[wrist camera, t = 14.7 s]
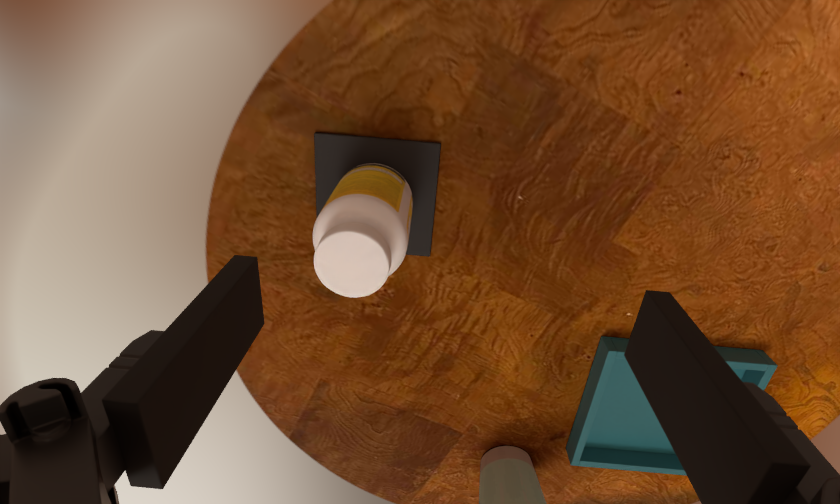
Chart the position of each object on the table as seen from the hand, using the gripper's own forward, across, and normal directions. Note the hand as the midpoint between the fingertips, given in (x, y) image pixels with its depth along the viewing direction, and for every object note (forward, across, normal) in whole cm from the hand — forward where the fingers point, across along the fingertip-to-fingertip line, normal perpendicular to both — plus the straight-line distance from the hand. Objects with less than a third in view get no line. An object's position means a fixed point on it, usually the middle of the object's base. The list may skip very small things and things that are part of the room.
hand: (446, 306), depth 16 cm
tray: (+23, +24, -25) cm, 42 cm away
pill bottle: (+23, -6, -5) cm, 24 cm away
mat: (+23, -6, -5) cm, 24 cm away
